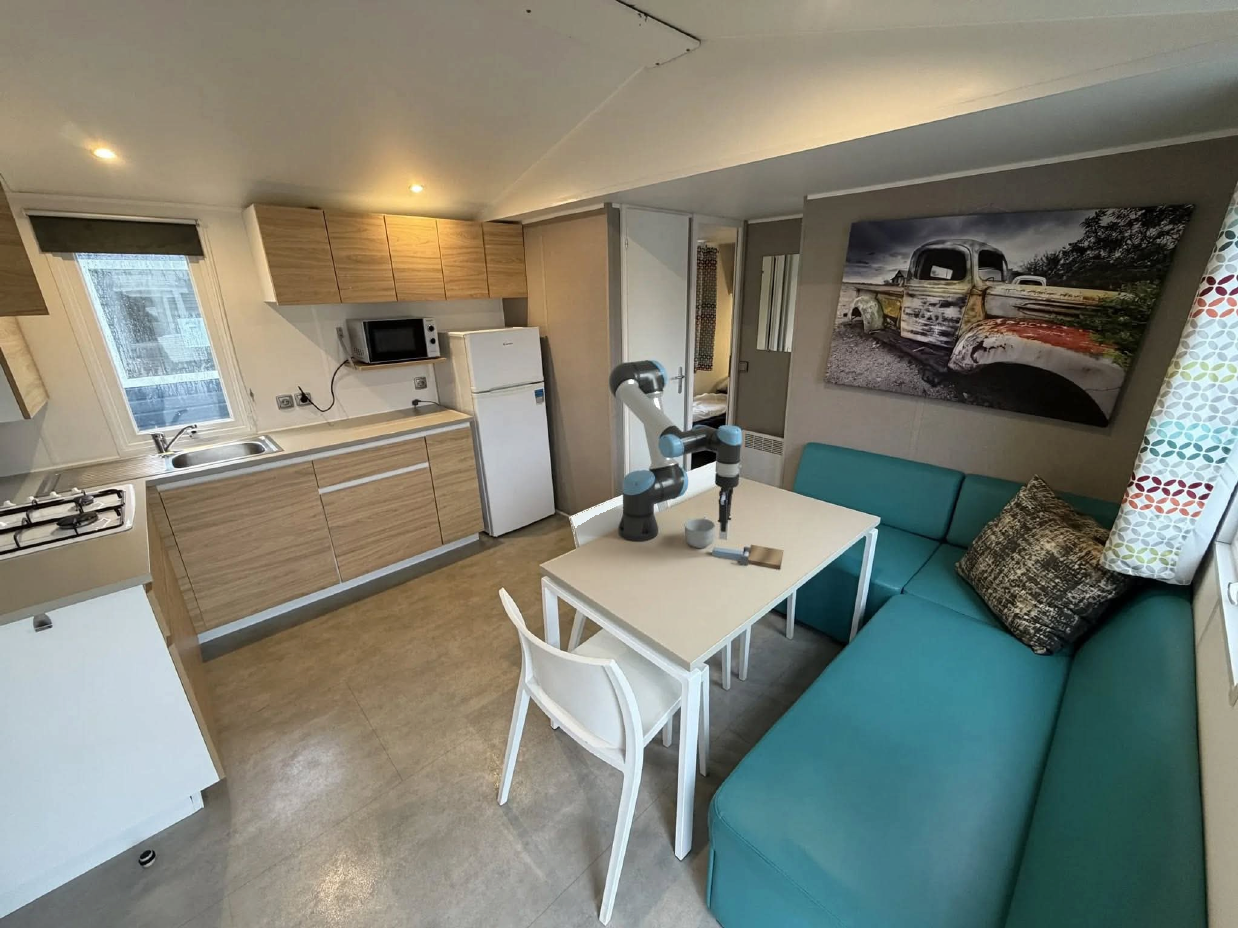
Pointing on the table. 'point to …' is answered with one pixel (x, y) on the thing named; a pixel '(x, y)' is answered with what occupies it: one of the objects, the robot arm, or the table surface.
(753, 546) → the board
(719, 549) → the leg
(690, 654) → the table surface
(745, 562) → the hinge cheek
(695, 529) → the teacup
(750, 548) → the hinge cheek
